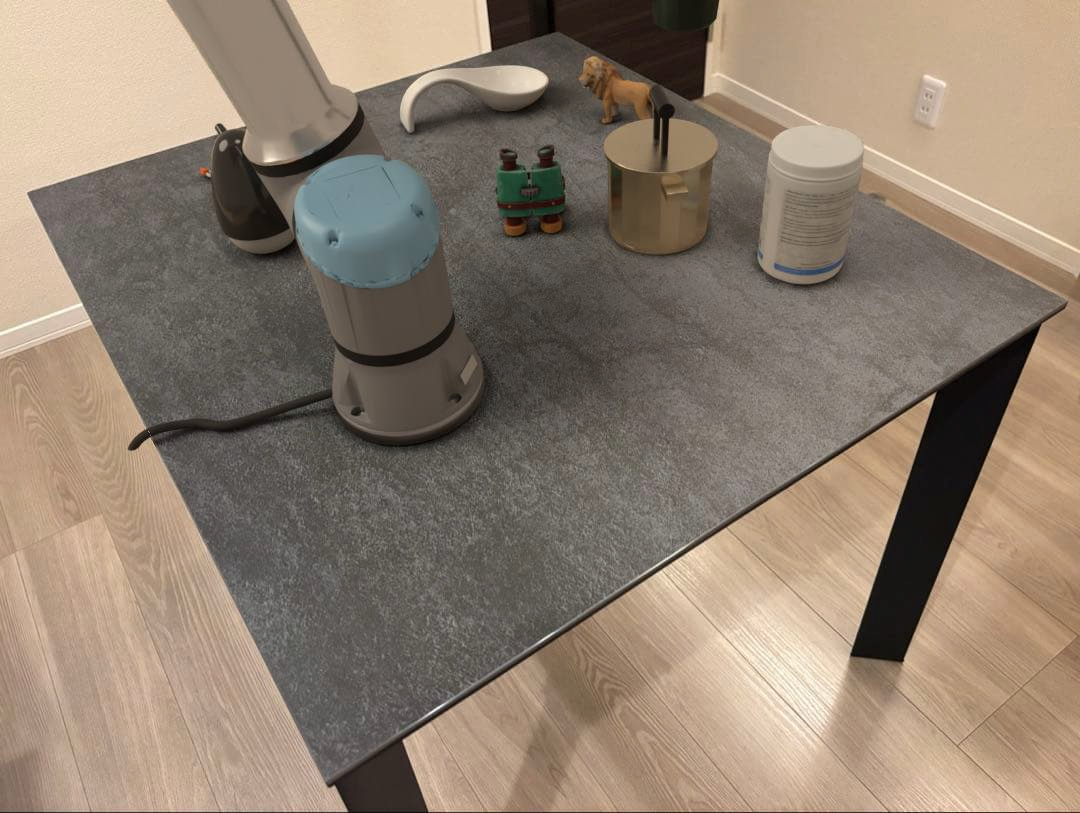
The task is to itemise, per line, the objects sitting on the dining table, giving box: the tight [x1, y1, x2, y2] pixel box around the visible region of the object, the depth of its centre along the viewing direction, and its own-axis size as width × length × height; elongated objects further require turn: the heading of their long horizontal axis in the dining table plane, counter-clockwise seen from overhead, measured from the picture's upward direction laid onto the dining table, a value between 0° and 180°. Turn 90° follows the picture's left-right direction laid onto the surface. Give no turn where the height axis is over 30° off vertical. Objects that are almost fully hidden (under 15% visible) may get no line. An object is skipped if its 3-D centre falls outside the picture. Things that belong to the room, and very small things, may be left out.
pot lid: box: [603, 84, 719, 177], centre depth 93 cm, size 13×13×7 cm
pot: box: [606, 159, 714, 256], centre depth 99 cm, size 12×17×10 cm
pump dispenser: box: [210, 122, 295, 255], centre depth 101 cm, size 10×10×15 cm
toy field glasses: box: [494, 144, 566, 237], centre depth 103 cm, size 9×11×10 cm
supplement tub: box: [757, 124, 865, 285], centre depth 90 cm, size 10×10×15 cm
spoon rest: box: [399, 64, 550, 134], centre depth 126 cm, size 24×12×7 cm, turn 114°
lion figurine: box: [578, 55, 654, 124], centre depth 119 cm, size 15×5×9 cm, turn 55°
